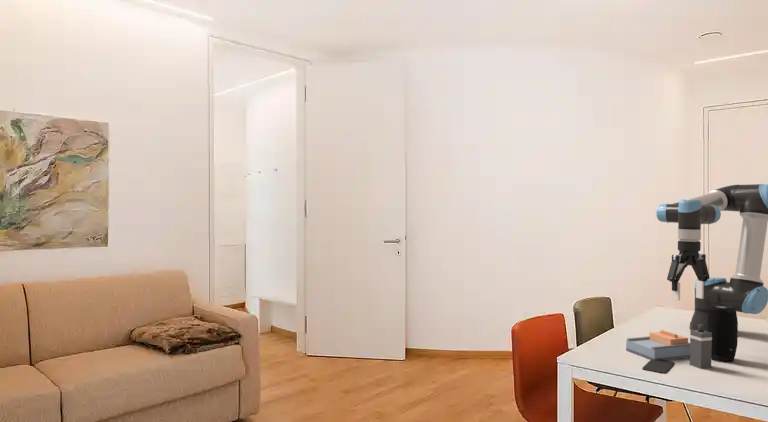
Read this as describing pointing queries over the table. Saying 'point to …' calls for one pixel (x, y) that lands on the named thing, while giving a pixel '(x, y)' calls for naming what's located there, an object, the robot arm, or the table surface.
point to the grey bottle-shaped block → (700, 348)
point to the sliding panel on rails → (657, 349)
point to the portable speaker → (723, 331)
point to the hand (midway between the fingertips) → (688, 298)
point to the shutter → (668, 338)
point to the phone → (658, 366)
